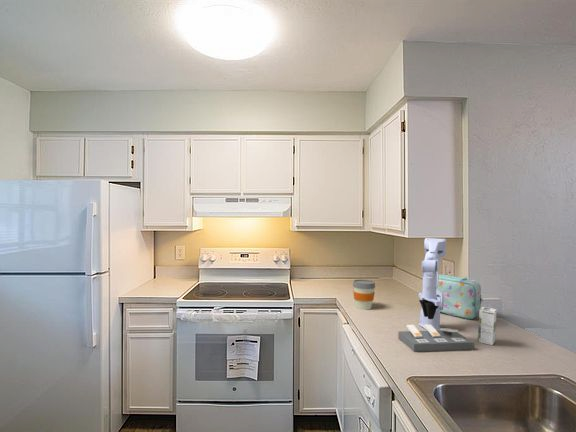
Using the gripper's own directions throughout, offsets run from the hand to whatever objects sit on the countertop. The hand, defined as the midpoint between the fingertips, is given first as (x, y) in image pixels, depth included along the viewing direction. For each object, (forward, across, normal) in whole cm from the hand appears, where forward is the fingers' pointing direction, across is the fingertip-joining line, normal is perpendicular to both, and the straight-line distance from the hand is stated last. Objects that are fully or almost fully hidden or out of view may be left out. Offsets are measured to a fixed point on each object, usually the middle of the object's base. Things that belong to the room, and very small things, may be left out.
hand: (428, 317), depth 147 cm
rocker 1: (+5, +3, -8) cm, 10 cm away
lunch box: (+10, -33, +34) cm, 48 cm away
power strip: (+9, +5, 0) cm, 11 cm away
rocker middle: (+5, +3, 0) cm, 5 cm away
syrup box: (+10, +5, +24) cm, 26 cm away
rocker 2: (+5, +3, +8) cm, 10 cm away
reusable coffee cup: (+10, -48, -12) cm, 51 cm away
